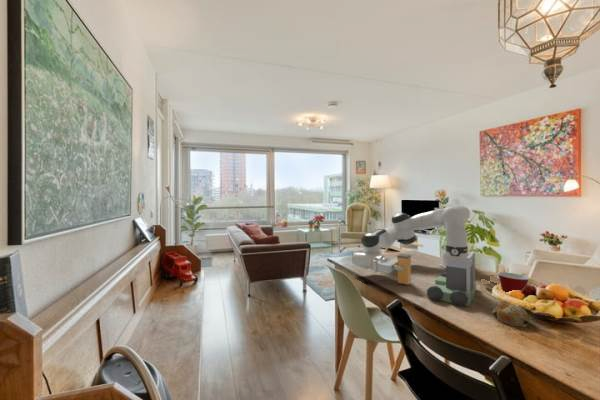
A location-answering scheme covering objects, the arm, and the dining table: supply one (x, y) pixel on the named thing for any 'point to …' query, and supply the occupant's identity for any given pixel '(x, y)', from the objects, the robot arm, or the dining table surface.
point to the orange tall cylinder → (405, 274)
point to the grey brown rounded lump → (511, 315)
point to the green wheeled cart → (455, 283)
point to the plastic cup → (512, 281)
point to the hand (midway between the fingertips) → (405, 266)
